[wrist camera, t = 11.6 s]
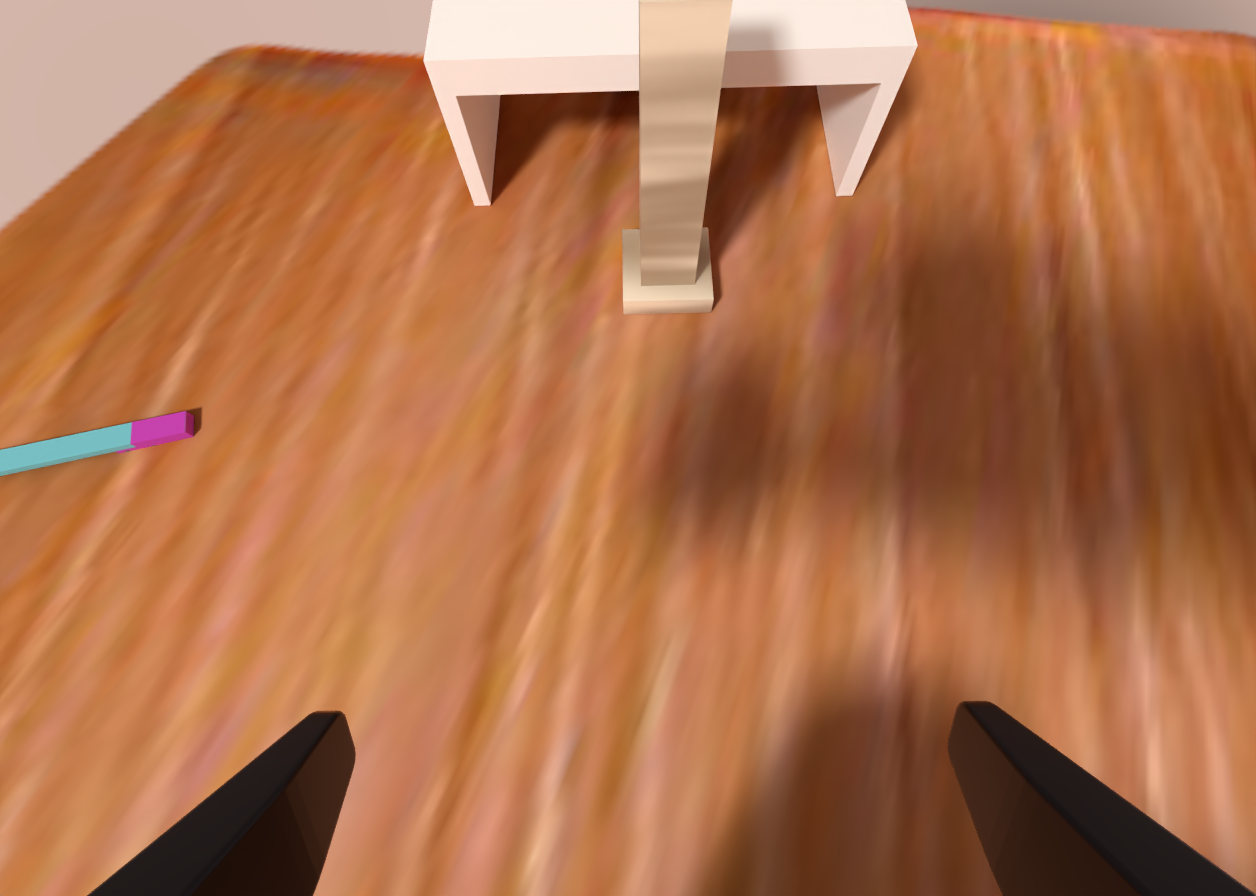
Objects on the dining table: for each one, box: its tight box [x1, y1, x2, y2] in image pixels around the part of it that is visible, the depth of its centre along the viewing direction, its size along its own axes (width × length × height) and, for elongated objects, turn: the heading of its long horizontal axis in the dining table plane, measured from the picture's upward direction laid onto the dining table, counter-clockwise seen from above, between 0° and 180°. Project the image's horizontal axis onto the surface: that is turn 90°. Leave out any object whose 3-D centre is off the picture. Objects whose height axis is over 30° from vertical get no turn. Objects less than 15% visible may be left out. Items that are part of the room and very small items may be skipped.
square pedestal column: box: [622, 0, 733, 314], centre depth 24 cm, size 16×7×13 cm, turn 1°
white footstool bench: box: [424, 0, 918, 206], centre depth 28 cm, size 8×19×8 cm, turn 91°
